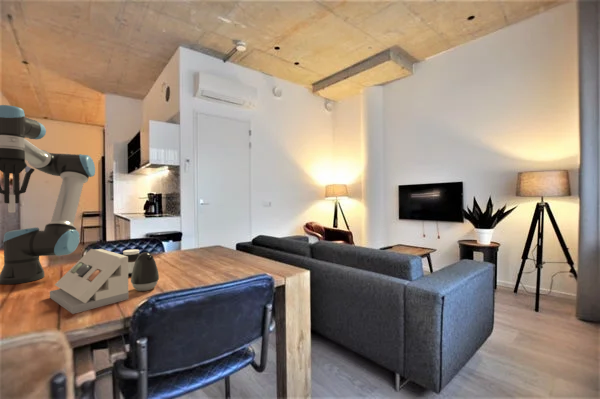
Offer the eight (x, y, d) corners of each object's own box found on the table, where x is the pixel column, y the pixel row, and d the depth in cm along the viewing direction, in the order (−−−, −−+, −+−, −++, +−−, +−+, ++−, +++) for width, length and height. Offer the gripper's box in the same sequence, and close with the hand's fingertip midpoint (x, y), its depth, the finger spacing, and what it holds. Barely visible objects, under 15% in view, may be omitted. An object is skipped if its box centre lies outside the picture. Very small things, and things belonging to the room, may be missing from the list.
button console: (49, 297, 110) (49, 254, 110) (101, 286, 124) (101, 247, 124) (72, 314, 96) (72, 263, 95) (128, 299, 109) (128, 255, 109)
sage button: (70, 275, 114) (70, 263, 114) (84, 272, 117) (84, 261, 117) (74, 277, 111) (74, 265, 111) (88, 274, 115) (88, 263, 115)
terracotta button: (87, 283, 104) (87, 270, 104) (101, 280, 107) (101, 268, 107) (91, 285, 101) (91, 272, 101) (106, 282, 105) (106, 269, 105)
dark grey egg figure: (140, 295, 114) (139, 256, 113) (125, 290, 119) (125, 253, 119) (164, 288, 122) (164, 251, 122) (150, 283, 128) (149, 249, 128)
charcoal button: (74, 276, 108) (74, 264, 108) (88, 274, 111) (88, 262, 111) (78, 278, 105) (78, 266, 105) (93, 275, 109) (92, 263, 109)
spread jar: (144, 274, 143) (144, 250, 143) (120, 279, 134) (120, 254, 134) (131, 270, 150) (131, 247, 150) (107, 275, 140) (107, 251, 140)
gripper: (-14, 145, 100) (-12, 213, 101) (36, 150, 111) (37, 211, 111) (-17, 147, 105) (-16, 212, 105) (31, 151, 115) (32, 211, 116)
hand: (11, 212), depth 108 cm, fingers closed
